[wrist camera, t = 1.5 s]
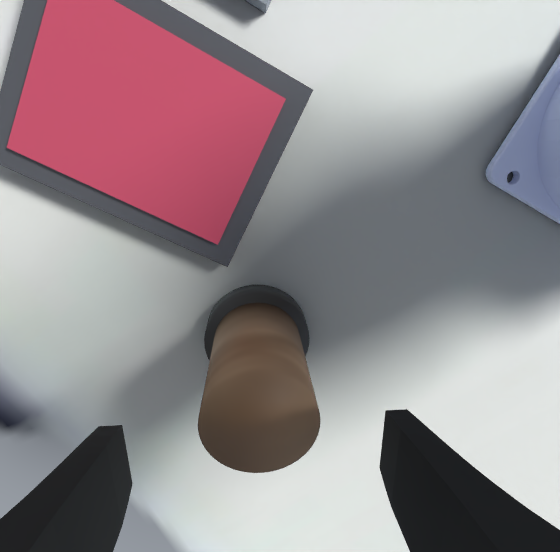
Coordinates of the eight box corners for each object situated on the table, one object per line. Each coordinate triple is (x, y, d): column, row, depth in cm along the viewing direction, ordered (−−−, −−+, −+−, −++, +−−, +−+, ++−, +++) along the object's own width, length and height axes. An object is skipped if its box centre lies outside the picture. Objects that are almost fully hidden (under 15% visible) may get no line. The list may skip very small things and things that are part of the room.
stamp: (323, 309, 17) (360, 393, 11) (278, 386, 18) (291, 498, 12) (232, 268, 16) (222, 337, 10) (191, 352, 17) (160, 456, 11)
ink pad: (309, 93, 14) (314, 88, 12) (229, 259, 15) (227, 268, 14) (59, -53, 12) (38, -73, 11) (1, 156, 14) (-21, 157, 12)
